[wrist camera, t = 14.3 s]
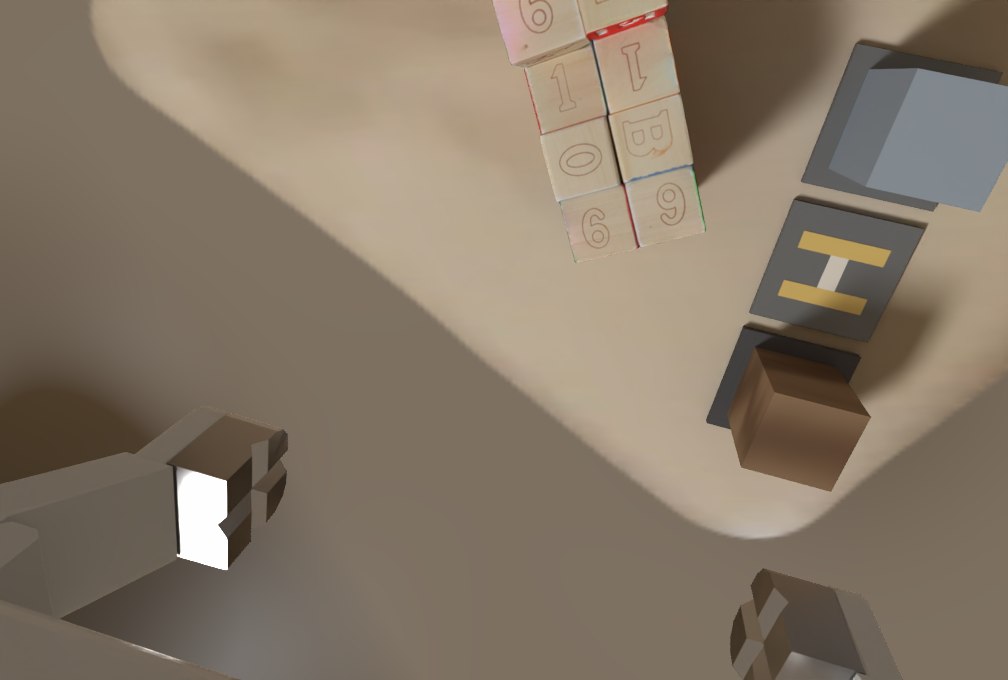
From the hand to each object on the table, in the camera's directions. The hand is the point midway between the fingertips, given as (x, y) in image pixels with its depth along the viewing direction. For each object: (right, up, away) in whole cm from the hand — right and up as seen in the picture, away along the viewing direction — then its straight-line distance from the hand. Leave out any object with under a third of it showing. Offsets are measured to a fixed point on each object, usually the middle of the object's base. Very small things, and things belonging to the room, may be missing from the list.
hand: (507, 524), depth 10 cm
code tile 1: (+19, +7, +25) cm, 32 cm away
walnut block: (+17, 0, +28) cm, 33 cm away
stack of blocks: (+5, +21, +23) cm, 31 cm away
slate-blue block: (+20, +14, +21) cm, 33 cm away
